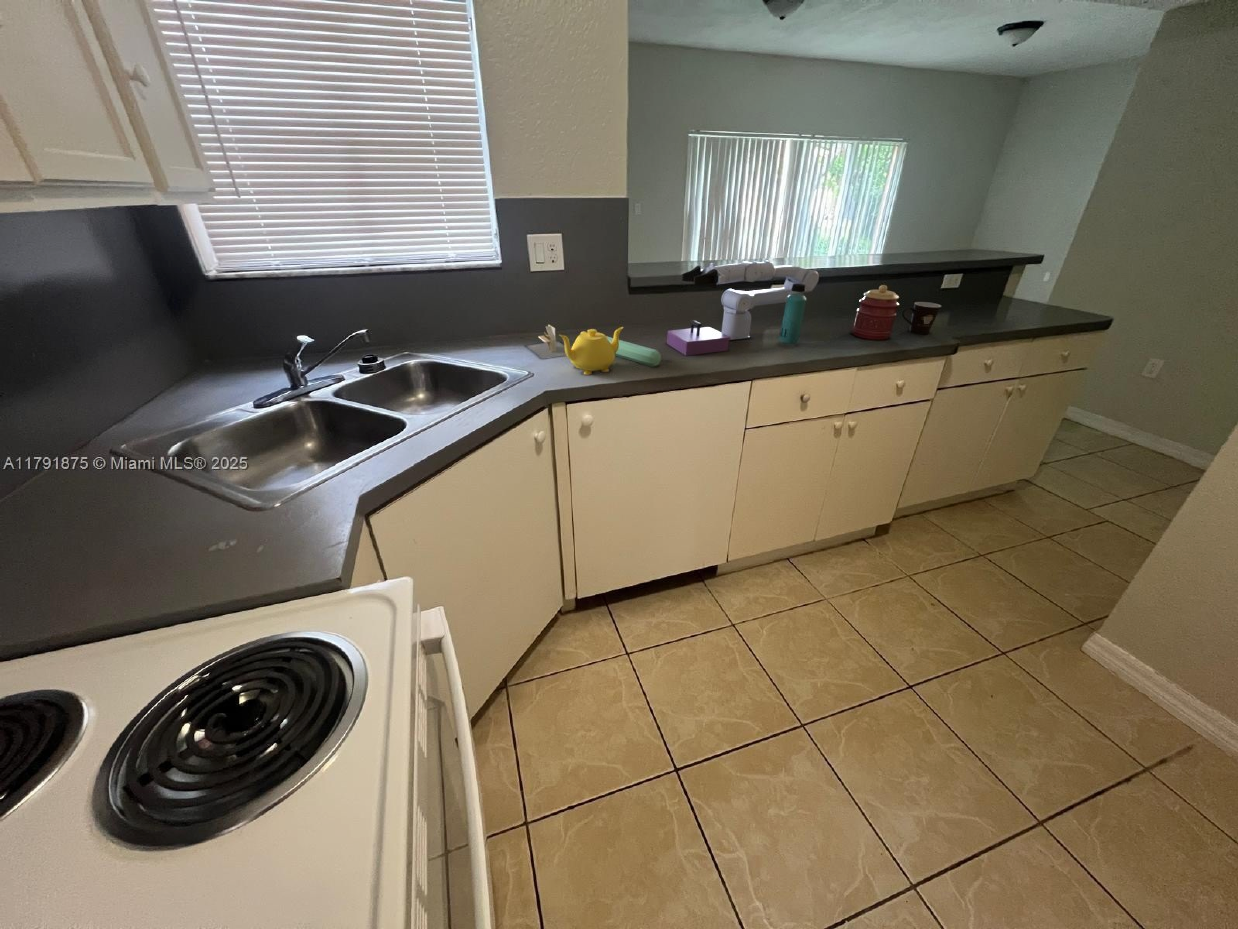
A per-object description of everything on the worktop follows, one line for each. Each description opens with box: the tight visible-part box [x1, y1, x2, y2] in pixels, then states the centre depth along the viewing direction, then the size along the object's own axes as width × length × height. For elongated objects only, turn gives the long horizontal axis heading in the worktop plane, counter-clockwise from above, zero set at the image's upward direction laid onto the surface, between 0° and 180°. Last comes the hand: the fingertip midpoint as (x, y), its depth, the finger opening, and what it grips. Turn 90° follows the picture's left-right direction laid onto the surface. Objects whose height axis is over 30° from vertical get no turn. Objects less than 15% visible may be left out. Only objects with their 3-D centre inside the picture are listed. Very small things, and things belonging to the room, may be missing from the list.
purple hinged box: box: [667, 319, 731, 344], centre depth 160 cm, size 16×14×5 cm
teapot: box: [558, 326, 624, 376], centre depth 141 cm, size 20×15×12 cm
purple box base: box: [666, 332, 730, 356], centre depth 162 cm, size 16×14×4 cm
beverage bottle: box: [779, 284, 807, 344], centre depth 161 cm, size 6×7×20 cm
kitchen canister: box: [851, 284, 901, 341], centre depth 174 cm, size 13×13×18 cm
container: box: [605, 335, 662, 368], centre depth 151 cm, size 6×6×25 cm
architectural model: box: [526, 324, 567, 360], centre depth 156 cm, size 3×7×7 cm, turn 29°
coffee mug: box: [901, 301, 942, 335], centre depth 182 cm, size 12×9×10 cm
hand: (688, 279), depth 157 cm, fingers open, 7 cm apart
